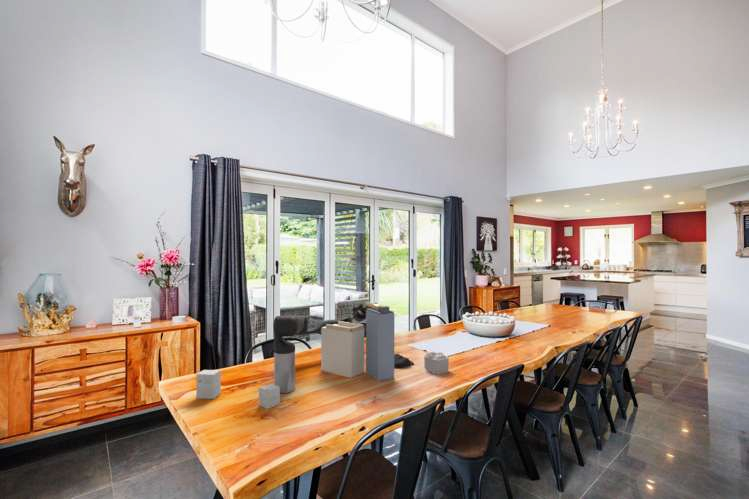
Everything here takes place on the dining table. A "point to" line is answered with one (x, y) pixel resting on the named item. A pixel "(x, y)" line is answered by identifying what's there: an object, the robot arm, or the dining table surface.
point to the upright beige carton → (342, 349)
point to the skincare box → (269, 396)
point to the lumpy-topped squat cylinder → (436, 362)
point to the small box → (208, 384)
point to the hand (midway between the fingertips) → (369, 305)
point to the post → (380, 344)
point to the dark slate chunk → (401, 361)
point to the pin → (377, 307)
